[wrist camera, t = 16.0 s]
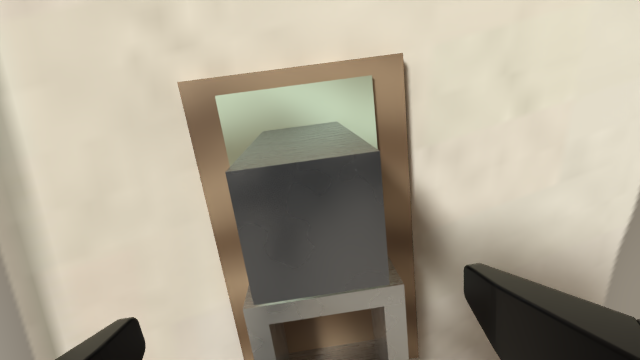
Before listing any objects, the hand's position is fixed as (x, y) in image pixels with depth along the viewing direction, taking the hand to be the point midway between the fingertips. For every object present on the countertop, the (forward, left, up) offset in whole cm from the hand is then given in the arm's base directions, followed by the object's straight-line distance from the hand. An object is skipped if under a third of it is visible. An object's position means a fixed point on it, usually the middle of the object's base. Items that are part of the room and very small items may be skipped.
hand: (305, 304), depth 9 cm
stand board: (-4, -1, -13) cm, 13 cm away
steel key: (+1, -1, -11) cm, 11 cm away
